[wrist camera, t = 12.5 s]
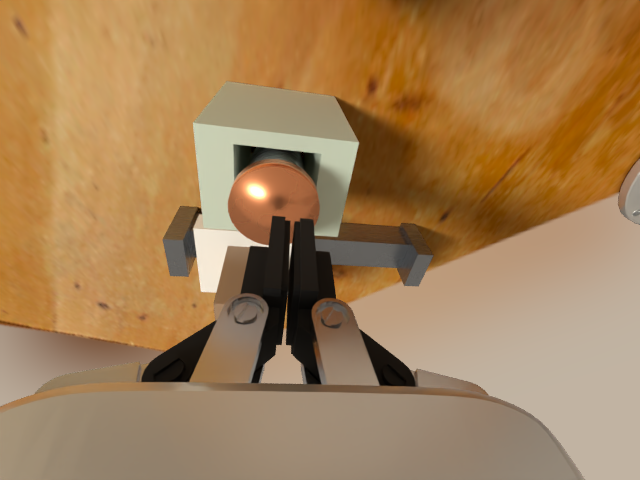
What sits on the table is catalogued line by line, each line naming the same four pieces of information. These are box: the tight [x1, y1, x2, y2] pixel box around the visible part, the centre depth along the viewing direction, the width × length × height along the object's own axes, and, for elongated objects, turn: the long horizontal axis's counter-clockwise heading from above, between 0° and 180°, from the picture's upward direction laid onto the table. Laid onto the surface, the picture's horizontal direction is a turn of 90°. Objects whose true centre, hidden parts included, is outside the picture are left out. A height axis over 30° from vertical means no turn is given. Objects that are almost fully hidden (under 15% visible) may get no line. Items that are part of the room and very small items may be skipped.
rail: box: [163, 206, 433, 286], centre depth 29 cm, size 23×4×5 cm, turn 81°
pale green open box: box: [193, 81, 359, 237], centre depth 20 cm, size 8×6×10 cm
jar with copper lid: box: [228, 147, 320, 245], centre depth 17 cm, size 4×4×6 cm
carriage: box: [193, 214, 292, 321], centre depth 25 cm, size 8×7×10 cm
